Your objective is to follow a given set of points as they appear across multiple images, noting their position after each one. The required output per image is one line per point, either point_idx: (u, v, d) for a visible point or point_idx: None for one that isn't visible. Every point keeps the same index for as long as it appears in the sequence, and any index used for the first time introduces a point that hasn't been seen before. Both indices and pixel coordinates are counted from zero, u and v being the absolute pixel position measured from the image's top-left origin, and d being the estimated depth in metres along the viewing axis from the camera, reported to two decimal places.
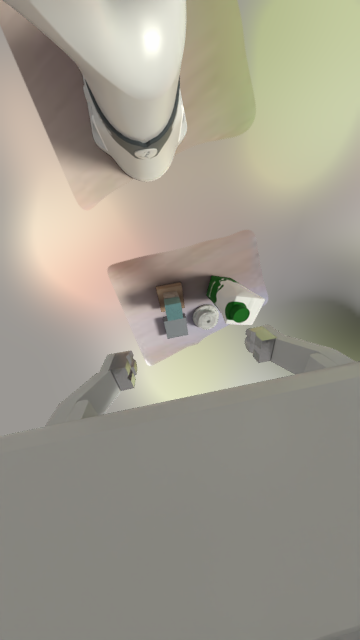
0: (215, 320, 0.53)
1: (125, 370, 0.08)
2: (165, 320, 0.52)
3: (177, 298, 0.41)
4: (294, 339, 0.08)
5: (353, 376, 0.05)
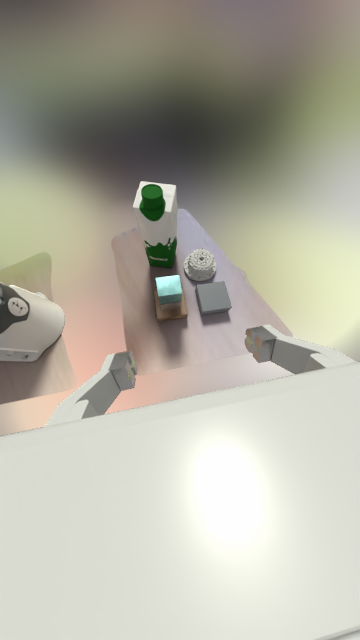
0: (200, 251, 0.43)
1: (125, 370, 0.08)
2: (201, 310, 0.39)
3: None
4: (294, 339, 0.08)
5: (353, 376, 0.05)
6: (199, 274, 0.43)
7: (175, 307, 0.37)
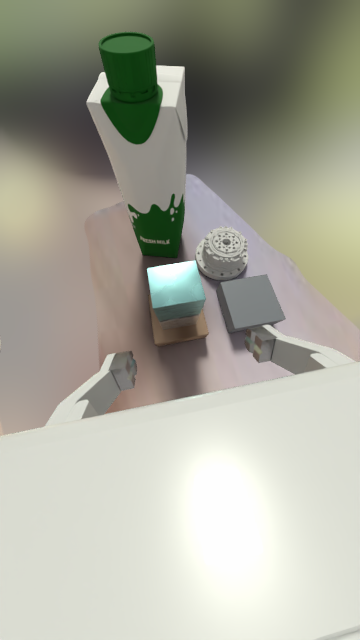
0: (222, 230, 0.26)
1: (125, 370, 0.08)
2: (232, 325, 0.22)
3: None
4: (294, 339, 0.08)
5: (353, 376, 0.05)
6: (222, 269, 0.26)
7: (186, 323, 0.21)
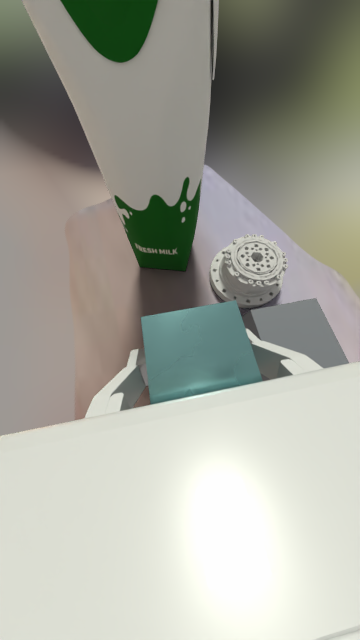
0: (250, 240, 0.18)
1: None
2: None
3: None
4: (269, 344, 0.08)
5: (353, 376, 0.05)
6: (249, 294, 0.19)
7: None
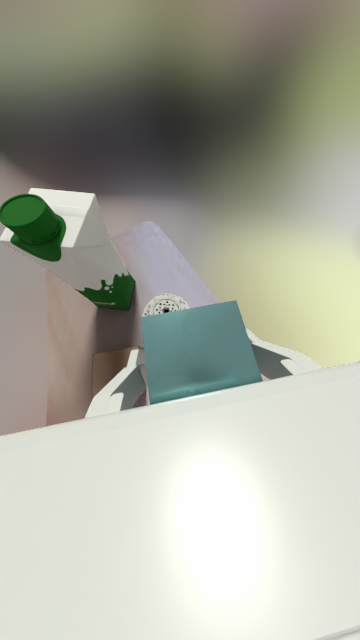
0: (164, 298, 0.28)
1: None
2: None
3: None
4: (269, 344, 0.08)
5: (353, 376, 0.05)
6: None
7: None
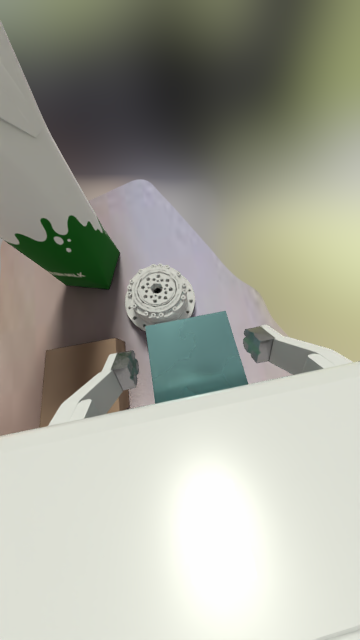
0: (154, 270, 0.19)
1: (127, 370, 0.08)
2: None
3: None
4: (292, 339, 0.08)
5: (353, 376, 0.05)
6: (155, 322, 0.19)
7: None
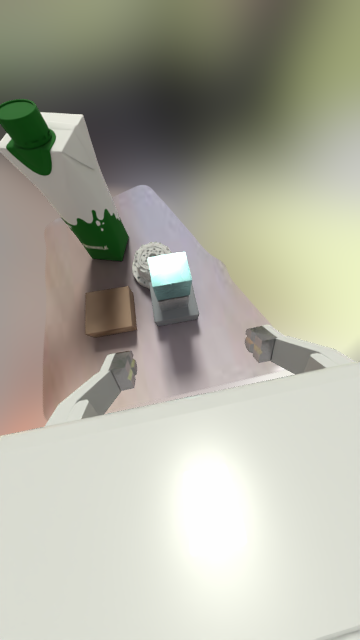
0: (151, 245, 0.29)
1: (125, 370, 0.08)
2: (154, 319, 0.26)
3: None
4: (294, 339, 0.08)
5: (353, 376, 0.05)
6: None
7: (180, 305, 0.25)
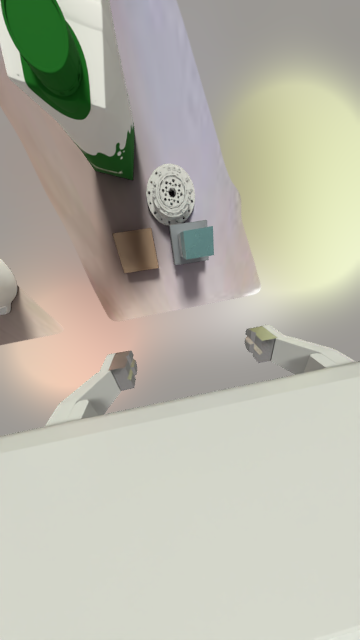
0: (170, 173, 0.26)
1: (125, 370, 0.08)
2: (174, 262, 0.34)
3: (181, 235, 0.27)
4: (294, 339, 0.08)
5: (353, 376, 0.05)
6: (169, 218, 0.31)
7: None
